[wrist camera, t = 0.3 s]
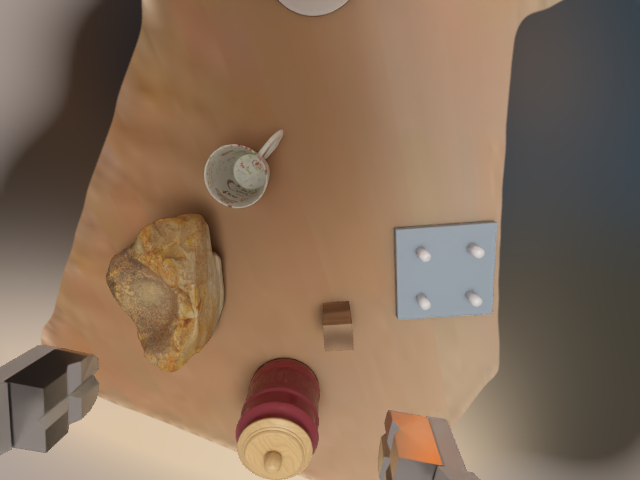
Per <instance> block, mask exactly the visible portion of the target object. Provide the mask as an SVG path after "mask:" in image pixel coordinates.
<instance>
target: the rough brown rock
mask: <svg viewBox="0 0 640 480" xmlns="http://www.w3.org/2000/svg"><path fill="white" fill-rule="evenodd" d="M106 281H107V284H108V286H109V288H110V290H111V292H112V294H113V296H114V298H115V299H116V300H117V302H118V304H119V305H120V306H121V307H122V308H123V309H124V311H125V312H126V313H127V314H128V315H129V316H130V317H131V318H132V320H133V321H134V322H135V324H136V327H137V330H138V331H137V333H138V338H139V340H140V341H141V345H142V347H143V350H144V357H145V358H146V359H147V360H148V361H149V362H150V363H151V364H153V365H155V366H157V367H158V368H159V369H160V370H162V371H167V372H175V371H177V370H178V369H180V368H181V366H183V365H184V364H185V363H186V362H187V361H188V360H189V359H190V358H191V357H192V356H193V355H194V353H198V352H199V351H201V350H202V348H203V347H204V346H205V344H206V343H207V342H208V341H209V339H210V338H211V337H212V335H213V332H214V330H215V327H216V324H217V322H218V321H219V318H220V313H221V311H222V309H223V304H224V285H223V275H222V266H221V259H220V257H219V256H218V255H217V253H216V252H214V251H212V248H211V241H210V232H209V227H208V224H207V223H206V222H205V220H204V218H203V217H202V215H201V214H183V215H180V216H177V217H175V218H164V219H160V220H157V221H155V222H153V223H152V224H149V225H148V226H146V227H144V228H143V229H142V230H141V232H140V233H139V235H138V238H137V241H136V242H135V243H133V244H132V245H131V246H130V247H128V248H126V249H124V250H123V251H121V252H119V253H118V254H116V255H115V256H114V257H113V258H112V259H111V261H110V265H109V268H108V272H107V274H106Z"/></svg>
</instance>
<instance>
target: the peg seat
mask: <svg viewBox="0 0 640 480" xmlns="http://www.w3.org/2000/svg"><path fill="white" fill-rule="evenodd" d="M496 233H497V222H494V221H482V222H468V223H454V224H441V225H427V226H413V227H399V228H394V238H395V280H396V316H397V319H398V320H405V319H420V318H436V317H452V316H468V315H483V314H492V306H493V288H494V269H495V251H496Z"/></svg>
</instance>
